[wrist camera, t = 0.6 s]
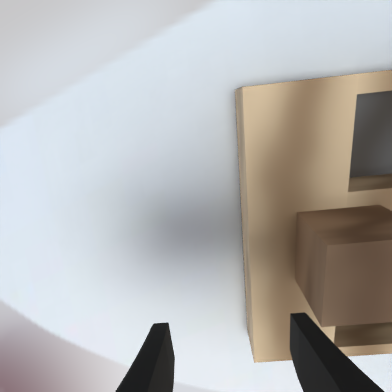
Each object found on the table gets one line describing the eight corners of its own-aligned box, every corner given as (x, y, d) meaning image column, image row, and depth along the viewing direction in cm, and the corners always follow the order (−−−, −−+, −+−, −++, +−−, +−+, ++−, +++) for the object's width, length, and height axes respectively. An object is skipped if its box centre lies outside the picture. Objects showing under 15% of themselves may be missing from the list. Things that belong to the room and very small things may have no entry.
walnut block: (379, 204, 16) (436, 236, 12) (370, 273, 17) (417, 320, 14) (296, 212, 16) (326, 245, 12) (295, 279, 18) (321, 327, 14)
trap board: (532, 55, 16) (606, 45, 13) (457, 315, 22) (495, 346, 19) (234, 90, 16) (242, 87, 14) (247, 330, 23) (254, 362, 20)
